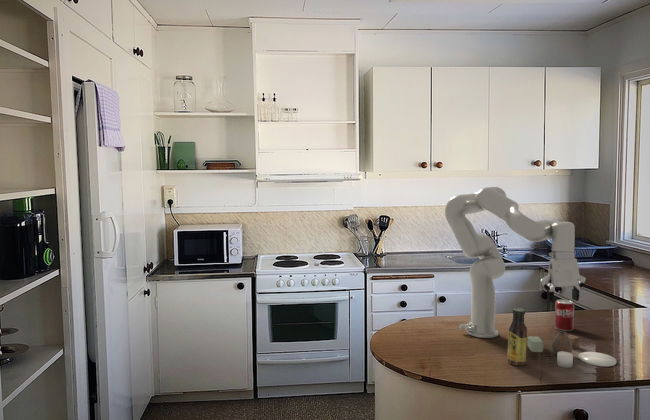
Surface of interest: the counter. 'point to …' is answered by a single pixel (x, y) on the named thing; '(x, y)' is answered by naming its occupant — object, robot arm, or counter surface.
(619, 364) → the counter surface
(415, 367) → the counter surface
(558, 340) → the vase
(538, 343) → the sage block
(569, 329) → the soda can
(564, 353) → the plastic tub
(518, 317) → the sauce bottle
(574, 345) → the walnut block
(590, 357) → the disc
